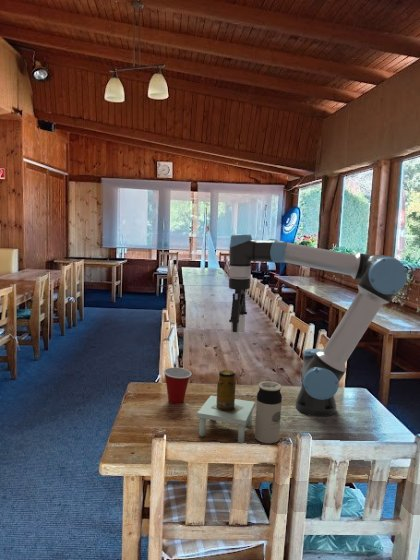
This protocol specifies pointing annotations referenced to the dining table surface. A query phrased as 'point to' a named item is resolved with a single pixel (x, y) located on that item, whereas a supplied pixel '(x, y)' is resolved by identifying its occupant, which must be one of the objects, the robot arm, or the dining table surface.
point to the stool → (226, 415)
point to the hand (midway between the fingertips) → (237, 336)
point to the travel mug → (268, 412)
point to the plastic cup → (176, 383)
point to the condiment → (226, 392)
